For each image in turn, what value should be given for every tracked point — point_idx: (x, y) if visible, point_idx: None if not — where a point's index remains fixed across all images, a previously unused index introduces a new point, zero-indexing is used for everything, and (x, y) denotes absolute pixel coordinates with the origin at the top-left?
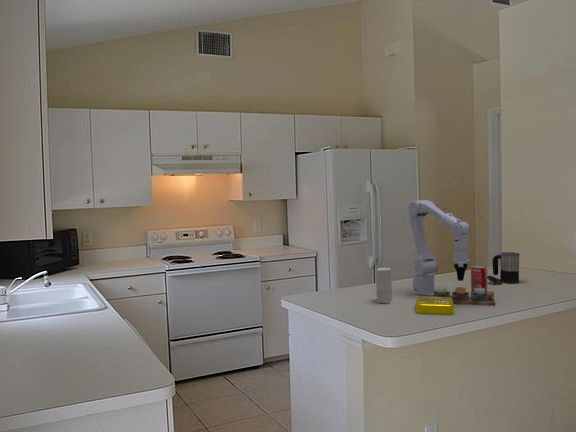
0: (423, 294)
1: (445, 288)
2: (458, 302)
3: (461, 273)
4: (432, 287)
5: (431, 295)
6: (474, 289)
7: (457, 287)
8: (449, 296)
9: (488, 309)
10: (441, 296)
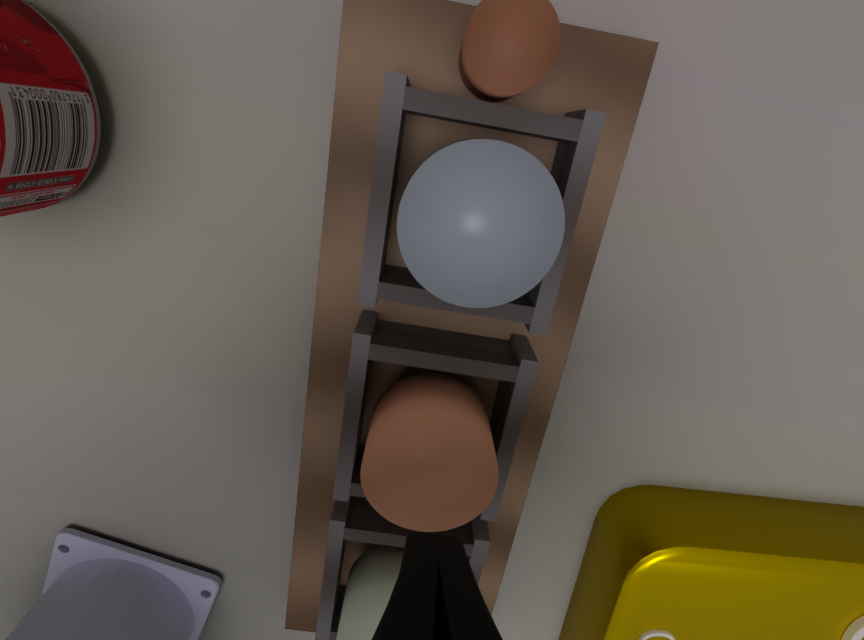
0: (199, 634)
1: None
2: (540, 431)
3: None
4: (133, 633)
5: (298, 608)
6: (470, 303)
7: (388, 504)
8: (486, 528)
9: (796, 177)
10: None
